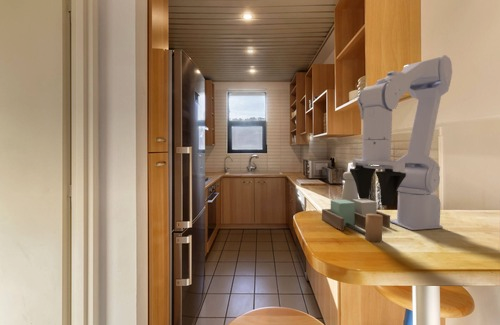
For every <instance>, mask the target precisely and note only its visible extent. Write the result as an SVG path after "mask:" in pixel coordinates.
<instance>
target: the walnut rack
mask: <svg viewBox="0 0 500 325" xmlns="http://www.w3.org/2000/svg"><path fill="white" fill-rule="evenodd" d="M377 214H379V215H382V216H383V225H382V227H386V228H391V222H390V220H391V215H389V214H386V213H384V212H381V211H378V210H377ZM321 221H324V222H326V223H327V224H328V225H330V226H333V228H336V229H337V228H338V229H337V230H339V229H340V231H344V230H345V226H344V218H342V217H340V216H338V215H336V214H334V213H332V212H331V208H325V209H324V208H322V210H321ZM354 225H356V226H358V227H359V228H361V229H363V230H366V216H364V215H361V214H359V213H357V212H355V221H354Z"/></svg>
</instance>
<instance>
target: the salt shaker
mask: <svg viewBox="0 0 500 325" xmlns="http://www.w3.org/2000/svg"><path fill="white" fill-rule="evenodd" d="M342 179H344V183H343V188H342V193H341V198H340V200H348V201H351V202H352V199H360V198H359V195H358V191H357V186H356V183H355V180H354V178H353V176H352V174H351V172H350V171H345V172H343V174H342Z"/></svg>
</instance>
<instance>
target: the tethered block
mask: <svg viewBox="0 0 500 325" xmlns="http://www.w3.org/2000/svg"><path fill="white" fill-rule="evenodd" d="M330 209H331V212H332V213H334V214H336V215H338V216H340V217H342V218H344V227H348V228H351V229H353V230H356V231H357V232H359V233H361V234H363V235H364V237H365V238H364V239H365V240H366V241H368V242H371V243H382V242H381V241H383V216H382V215H379V214H366V229H365V230H364V229H363V230H362V228H360V227H356V226H355V224H354V221H355V203H354V202H351V201H348V200H341V199H332V200H330Z"/></svg>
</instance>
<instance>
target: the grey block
mask: <svg viewBox="0 0 500 325" xmlns="http://www.w3.org/2000/svg"><path fill="white" fill-rule="evenodd" d="M352 202H354V203H355V212H357V213H359V214H361V215H364V216H366V214H377V211H378V210H377V208H378V207H377V206H378V202H377V201H375V200H371V199H369V198H363V199H361V198H359V199H352Z"/></svg>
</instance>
